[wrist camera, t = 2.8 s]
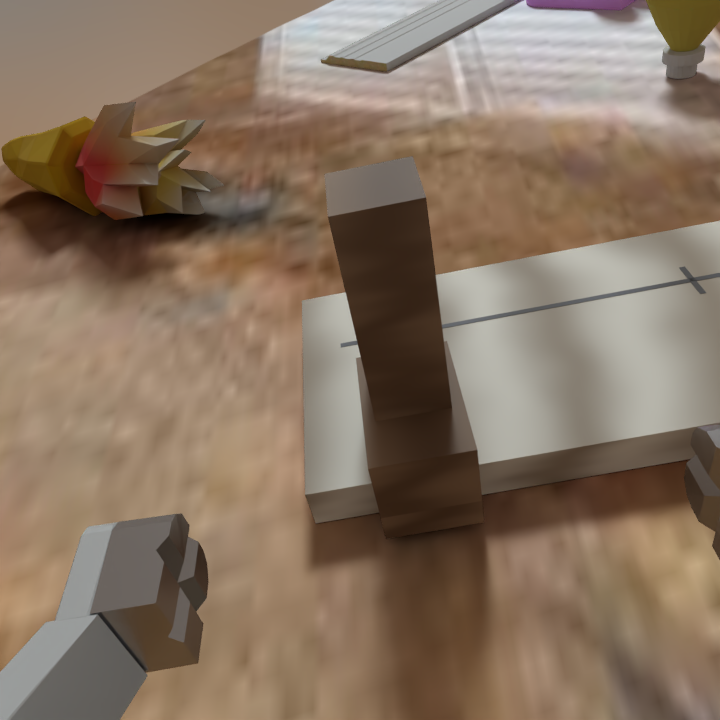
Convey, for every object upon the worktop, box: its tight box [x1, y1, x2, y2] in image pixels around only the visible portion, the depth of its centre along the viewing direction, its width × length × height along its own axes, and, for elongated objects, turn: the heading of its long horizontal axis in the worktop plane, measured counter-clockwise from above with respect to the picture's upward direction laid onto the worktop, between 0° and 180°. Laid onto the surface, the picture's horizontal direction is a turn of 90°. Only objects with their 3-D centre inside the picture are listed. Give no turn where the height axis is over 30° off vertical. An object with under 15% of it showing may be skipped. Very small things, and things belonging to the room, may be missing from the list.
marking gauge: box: [325, 156, 484, 539], centre depth 27 cm, size 4×12×13 cm, turn 4°
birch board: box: [302, 221, 720, 523], centre depth 33 cm, size 24×14×2 cm, turn 94°
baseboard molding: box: [321, 0, 519, 72], centre depth 82 cm, size 31×3×12 cm
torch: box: [2, 102, 224, 220], centre depth 57 cm, size 8×8×25 cm
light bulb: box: [646, 0, 720, 79], centre depth 55 cm, size 7×7×10 cm
